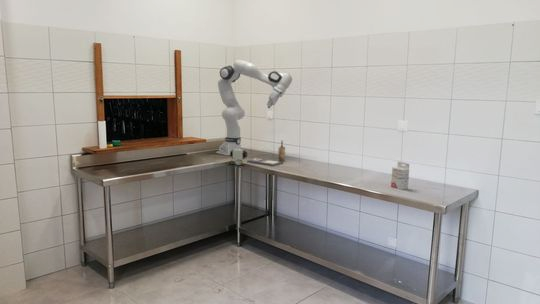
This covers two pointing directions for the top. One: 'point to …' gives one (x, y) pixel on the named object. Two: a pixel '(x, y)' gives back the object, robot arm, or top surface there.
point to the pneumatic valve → (238, 155)
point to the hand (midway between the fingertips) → (267, 106)
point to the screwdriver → (281, 153)
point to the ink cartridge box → (400, 176)
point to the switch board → (265, 162)
